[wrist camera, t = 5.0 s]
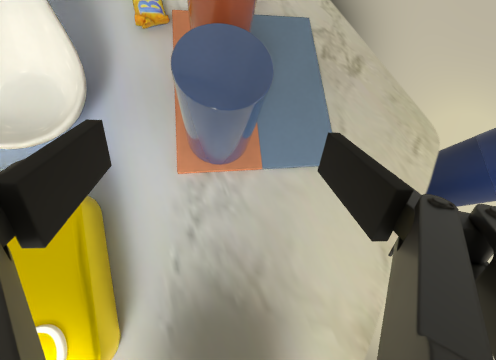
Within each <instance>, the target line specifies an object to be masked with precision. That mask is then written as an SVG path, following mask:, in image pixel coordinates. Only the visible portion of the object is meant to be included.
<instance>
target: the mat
mask: <svg viewBox="0 0 496 360" xmlns="http://www.w3.org/2000/svg"><path fill="white" fill-rule="evenodd" d="M172 18H173V49H174V47H175V45H176V44H177V42H178V41H179V39H180V38H181V37H182V36H183V35H184V34H185V33H187V32H188V31H190V24H189V14H188V11H182V10H172ZM251 33H252V34H253V35H254V36H256V37H257V38H258V39H259V40H260V41H261V42H262V43H263V44H264V46H265V47H266V48H267V50H268V52H269V54H270V56H271V59H272V62H273V68H274V75H273V81H272V84H271V87H270V89H269V92H268V94H267V97H266V100H265V102H264V105H263V107H262V110H261V113H260V115H259V118H258V120H257V123H256V126H255V128H254V131H253V133H252V136H251V139H250V141H249V144H248V146H247V149H246V151H245V152H244V153H243V155H242V156H241V157H240V158H238V159H237V160H235V161H233V162H231V163H228V164H222V165H216V164H211V163H207V162H205V161H203V160H201V159H200V158H198V157H197V156H196V155H195V154H194V153H193V152H192V150H191V149H190V147H189V144H188V141H187V137H186V132H185V128H184V123H183V119H182V114H181V110H180V106H179V101H178V97H177V92H176V88H175V112H176V143H177V172H178V174H183V173H202V172H220V171H238V170H257V169H275V168H294V167H312V166H319V164H320V160H321V157H322V153H323V149H324V146H325V142H326V138H327V134H328V132H329V133H332V130H331V125H330V120H329V115H328V110H327V105H326V100H325V95H324V90H323V85H322V80H321V75H320V70H319V65H318V60H317V55H316V50H315V45H314V40H313V35H312V30H311V25H310V20H309V18H304V17H286V16H269V15H254V17H253V22H252V28H251Z"/></svg>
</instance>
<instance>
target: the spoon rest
mask: <svg viewBox="0 0 496 360" xmlns="http://www.w3.org/2000/svg"><path fill="white" fill-rule="evenodd" d="M86 92H87V86H86V77H85V73H84V69H83V66H82V63H81V60H80V58H79V56H78V53H77V51H76V49H75V47H74V45H73V44H72V42H71V40H70V38H69V36H68V35H67V33H66V31H65V29H64V28H63V26H62V25H61V23H60V21H59V20H58V18H57V16H56V15H55V13H54V11H53V10H52V8H51V6H50V4H49V3H48V1H47V0H0V149H20V148H27V147H32V146H36V145H39V144H42V143H45V142H48V141H50V140H52V139H54V138H56V137H58V136H60V135H61V134H63V133H64V132H65V131H67V130H68V129H69V128H70V127H71V126H72V125H73V124H74V123H75V121H76V120H77V119H78V117H79V116H80V114H81V112H82V110H83V107H84V104H85V100H86Z"/></svg>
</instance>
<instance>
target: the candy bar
mask: <svg viewBox="0 0 496 360" xmlns="http://www.w3.org/2000/svg"><path fill="white" fill-rule="evenodd" d="M133 5H134V10H135V22H136V25H137V26H142V27H143V29H145V28H149V27H152V26H156V25H161V24H166V23H168V22H169V21H170V20H169V18H168V15H166V14H165V11H164V7H163V4H162V0H133Z"/></svg>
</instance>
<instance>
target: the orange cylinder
mask: <svg viewBox="0 0 496 360" xmlns="http://www.w3.org/2000/svg"><path fill="white" fill-rule="evenodd" d="M256 1H257V0H187V3H188V14H189V24H190V30H191V29H193V28H195V27H198V26H201V25H205V24H211V23H224V24H230V25H234V26H237V27H240V28H242V29H245V30H246V31H248V32H250V33H251V28H252V22H253V17H254V12H255V7H256Z"/></svg>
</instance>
